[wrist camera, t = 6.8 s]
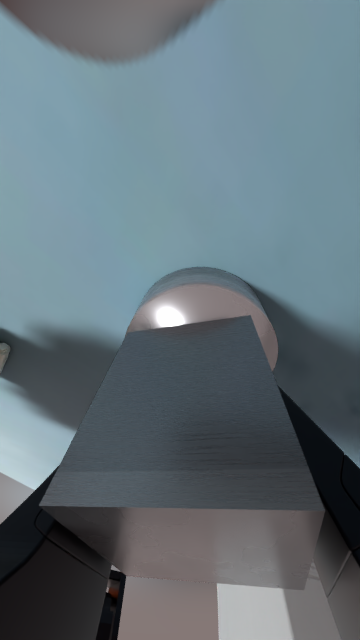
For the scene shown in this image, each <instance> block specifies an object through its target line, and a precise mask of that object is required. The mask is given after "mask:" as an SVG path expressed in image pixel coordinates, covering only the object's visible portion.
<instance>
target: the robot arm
mask: <svg viewBox="0 0 360 640" xmlns="http://www.w3.org/2000/svg"><path fill="white" fill-rule="evenodd" d="M277 386H278V385H277ZM278 388H279V391H280V394H281V396H282V399H283V402H284V404H285V407H286V409H287V412H288V415H289V417H290V420H291V423H292V425H293V428H294V430H295V433H296V436H297V438H298V441H299V444H300V446H301V449H302V452H303V454H304V457H305V459H306V462H307V465H308V467H309V470H310V473H311V475H312V478H313V480H314V483H315V486H316V488H317V491H318V494H319V496H320V499H321V502H322V504H323V507H324V509H325V513H324V517H323V521H322V525H321V528H320V532H319V536H318V540H317V544H316V547H315V551H314V555H313V561H314V564H315V566H316V569H317V572H318V575H319V578H320V581H321V584H322V586H323V589H324V592H325V595H326V597H327V598H328V599H327V601H328V604H329V607H330V609H331V612H332V615H333V618H334V621H335V624H336V626H337V629H338V632H339V635H340V638H341V640H360V468H359V467H358V466H357V465H356V464H355V463H354V462H353V461H352V460H351V459H350V458H349V457H348V456H347V455H344V452H343V451H342V450H341V449H340V448H339V447H338V446H337V445H336V444H335V443H334V442H333V441H332V440H331V439H330V438H329V437H328V436H327V435H326V434H325V433H324V432H323V431H322V430H321V429H320V428H319V427H318V426H317V425H316V424H315V423H314V422H313V421H312V420H311V419H310V418H309V417H308V416H307V415H306V414H305V413H304V412H303V411H302V410H301V409H300V408H299V407H298V406H297V404H296V403H295V402H294V401H293V400H292V399H291V398H290V397H289V396H288V395H287V394H286V393H285V392H284V391H283V390H282V389H281V388H280V387H279V386H278ZM58 467H59V466H58ZM58 467H57V468H56V469H55V470H54V471H53V472H52V473H51V475H50V476H49V477H48V478H47V479H46V480H45V481H44V482H43V483H42V484H41V485H40V486H39V487H38V488H37V489H36V490H35V491H34V492H33V493H32V494H31V495H30V496H29V497H28V498H27V499H26V500H25V501H24V502H23V503H22V504H21V505H20V506H19V507H18V508H17V509H16V510H15V511H14V512H13V513H12V514H11V515H10V516H9V517H7V519H5V521H3V522H2V523H1V524H0V640H117V636H118V630H119V623H120V616H121V608H122V602H123V595H124V588H125V581H126V575H125V574H124V573H122V572H118V571H114V570H111V566H112V564H111V563H110V562H109V561H107V560H106V559H105V558H104V557H102V556H101V555H100V554H99V553H97V552H96V551H95V550H94V549H92V548H91V547H90V546H89V545H87V544H86V543H85V542H84V541H82V540H81V539H80V538H79V537H77V536H76V535H75V534H74V533H72V532H71V531H70V530H69V529H67V528H66V527H65V526H64V525H62V524H61V523H60V522H59V521H57V520H56V519H55V518H54V517H52V516H51V515H50V514H49V513H47V512H46V511H45V510H44V509H42V508H41V507H40V506H39V504H40V502H41V501H42V499H43V497H44V495H45V493H46V491H47V489H48V487H49V485H50V483H51V481H52V479H53V477H54V475H55V473H56V471H57V469H58ZM107 587H109V591H108V593H107V592H106V589H107Z"/></svg>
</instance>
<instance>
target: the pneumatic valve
mask: <svg viewBox="0 0 360 640" xmlns="http://www.w3.org/2000/svg"><path fill="white" fill-rule="evenodd" d="M9 352H10V346H9V345H7V344H5V343H0V374H1V372H2V369H3V367H4V364H5V362H6V360H7V357H8V355H9Z"/></svg>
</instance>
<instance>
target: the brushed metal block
mask: <svg viewBox="0 0 360 640" xmlns="http://www.w3.org/2000/svg"><path fill="white" fill-rule="evenodd" d="M39 506H40V507H41V508H42V509H44V510H45V511H46V512H47V513H49V514H50V515H51V516H52V517H54V518H55V519H56V520H57V521H59V522H60V523H61V524H62V525H64V526H65V527H66V528H67V529H69V530H70V531H71V532H72V533H74V534H75V535H76V536H77V537H79V538H80V539H81V540H82V541H84V542H85V543H86V544H87V545H89V546H90V547H91V548H92V549H94V550H95V551H96V552H97V553H99V554H100V555H101V556H102V557H104V558H105V559H106V560H107V561H109V562H110V563H111V564H112V565H114V566H115V567H116V568H118V569H119V570H120V571H121V572H122V573H124V574H125V575H126V576H133V577H146V578H157V579H170V580H182V581H194V582H207V583H219V584H231V585H244V586H256V587H268V588H281V589H293V590H304V589H305V585H306V582H307V578H308V574H309V570H310V566H311V563H312V559H313V555H314V551H315V547H316V544H317V540H318V536H319V532H320V528H321V525H322V521H323V517H324V513H325V509H324V507H323V504H322V502H321V499H320V496H319V494H318V491H317V488H316V486H315V483H314V480H313V478H312V475H311V473H310V470H309V467H308V465H307V462H306V459H305V457H304V454H303V452H302V449H301V446H300V444H299V441H298V438H297V436H296V433H295V430H294V428H293V425H292V423H291V420H290V417H289V415H288V412H287V409H286V407H285V404H284V402H283V399H282V396H281V394H280V391H279V388H278V386H277V383H276V380H275V378H274V375H273V373H272V370H271V367H270V365H269V362H268V359H267V357H266V354H265V352H264V349H263V346H262V344H261V341H260V338H259V336H258V333H257V330H256V328H255V325H254V323H253V320H252V317H251V315H247V316H240V317H233V318H226V319H219V320H212V321H205V322H198V323H191V324H184V325H177V326H170V327H163V328H156V329H149V330H141V331H134V332H128V333H127V335H126V337H125V339H124V341H123V343H122V345H121V347H120V349H119V351H118V353H117V355H116V356H115V358H114V360H113V362H112V364H111V366H110V368H109V370H108V372H107V374H106V376H105V378H104V380H103V382H102V384H101V386H100V388H99V390H98V391H97V393H96V395H95V397H94V399H93V401H92V403H91V405H90V407H89V409H88V411H87V413H86V415H85V417H84V419H83V421H82V423H81V425H80V427H79V428H78V430H77V432H76V434H75V436H74V438H73V440H72V442H71V444H70V446H69V448H68V450H67V452H66V454H65V456H64V458H63V460H62V462H61V464H60V465H59V467H58V469H57V471H56V473H55V475H54V477H53V479H52V481H51V483H50V485H49V487H48V489H47V491H46V493H45V495H44V497H43V499H42V501H41V502H40V504H39Z"/></svg>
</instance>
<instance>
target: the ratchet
mask: <svg viewBox="0 0 360 640" xmlns="http://www.w3.org/2000/svg"><path fill="white" fill-rule="evenodd" d="M247 315H251V317H252V320H253V323H254V325H255V328H256V330H257V333H258V336H259V338H260V341H261V344H262V346H263V349H264V352H265V354H266V357H267V359H268V362H269V365H270V367H271V370H272V372H273V369H274V367H275V365H276V361H277V358H278V341H277V337H276V334H275V331H274V329H273V327H272V325H271V323H270V321H269V319H268V317H267V315H266V313H265V311H264V309H263V307H262V305H261V303H260V301H259V299H258V297H257V295H256V294H255V292H254V291H253V290H252V289H251V288H250V287H249V285H248V284H246V283H245V282H244V281H243V280H241V279H240V278H238V277H237V276H235V275H233V274H231V273H228V272H226V271H223V270H220V269H216V268H209V267H192V268H185V269H182V270H178V271H175V272H173V273H170V274H168V275H166V276H165V277H163V278H161V279H160V280H159V281H157V282H156V283H155V284H154V285H153V286H152V287H151V288H150V289H149V290H148V292H147V293H146V295H145V296H144V298H143V300H142V302H141V304H140V306H139V308H138V309H137V311H136V313H135V315H134V317H133V319H132V321H131V323H130V325H129V327H128V329H127V332H126V335H127V333H128V332H134V331H141V330H149V329H156V328H163V327H170V326H177V325H184V324H191V323H198V322H205V321H212V320H219V319H226V318H233V317H240V316H247ZM126 335H125V337H126Z"/></svg>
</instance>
